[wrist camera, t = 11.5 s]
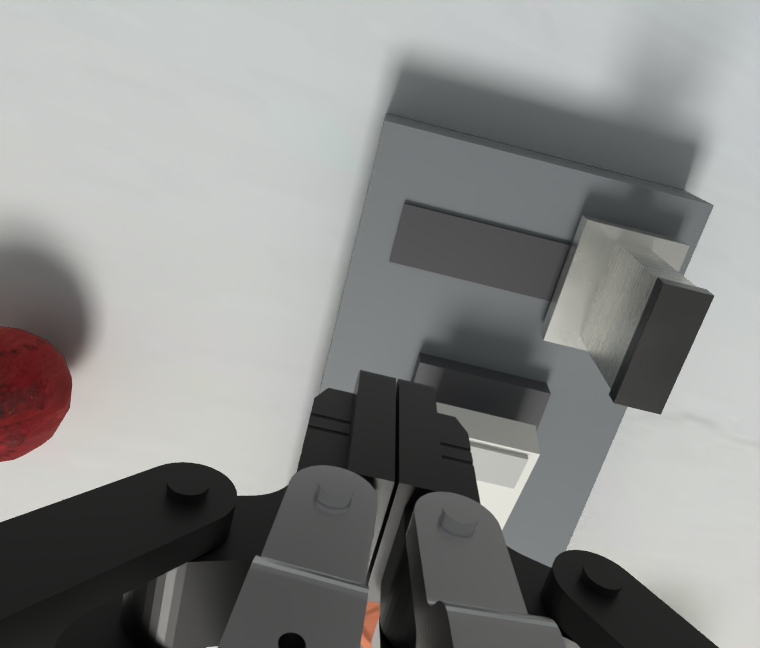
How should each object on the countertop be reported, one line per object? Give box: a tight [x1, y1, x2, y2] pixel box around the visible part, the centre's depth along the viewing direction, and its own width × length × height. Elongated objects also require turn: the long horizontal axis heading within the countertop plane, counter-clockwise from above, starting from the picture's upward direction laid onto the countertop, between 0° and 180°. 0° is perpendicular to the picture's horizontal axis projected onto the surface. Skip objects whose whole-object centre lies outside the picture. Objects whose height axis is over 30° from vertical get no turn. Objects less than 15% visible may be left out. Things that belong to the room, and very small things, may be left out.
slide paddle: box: [540, 215, 714, 414], centre depth 25 cm, size 4×5×6 cm
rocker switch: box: [436, 402, 540, 530], centre depth 28 cm, size 4×7×2 cm, turn 166°
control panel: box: [319, 114, 714, 648], centre depth 32 cm, size 13×26×4 cm, turn 166°
